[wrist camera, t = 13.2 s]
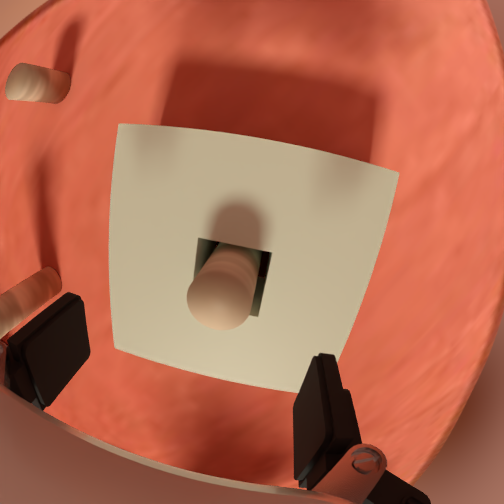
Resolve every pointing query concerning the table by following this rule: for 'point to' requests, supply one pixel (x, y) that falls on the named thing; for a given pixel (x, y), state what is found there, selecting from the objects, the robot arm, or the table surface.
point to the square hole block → (242, 234)
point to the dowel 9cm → (225, 287)
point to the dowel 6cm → (37, 84)
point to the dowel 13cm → (27, 298)
